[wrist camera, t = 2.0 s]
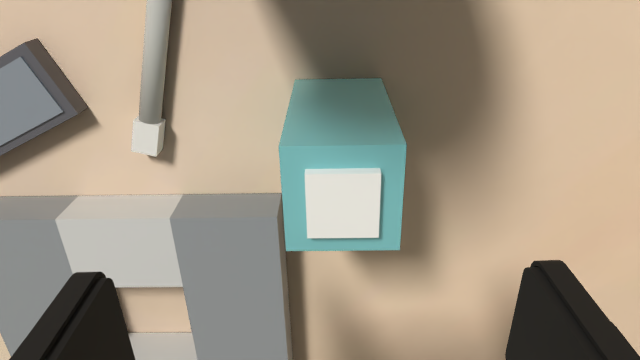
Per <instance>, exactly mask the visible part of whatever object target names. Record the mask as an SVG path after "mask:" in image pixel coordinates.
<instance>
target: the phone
mask: <svg viewBox="0 0 640 360" xmlns="http://www.w3.org/2000/svg"><path fill="white" fill-rule="evenodd" d="M86 108H88V106H87V105H86V104H85V102H84V101H83V100H82V98H81V97H80V96H79V94H78V93H77V92H76V90H75V89H74V88H73V86H72V85H71V84H70V82H69V81H68V79H67V78H66V77H65V75H64V74H63V73H62V71H61V70H60V69H59V67H58V66H57V65H56V63H55V62H54V61H53V59H52V58H51V57H50V55H49V54H48V53H47V51H46V50H45V48H44V47H43V46H42V44H41V43H40V42H39V40H38V39H34V40H31V41H28V42H25V43H23V44H21V45H19V46H18V47H16V48H14V49H13V50H11V51H9V52H8V53H6V54H4V55H3V56H1V57H0V156H1V155H2V154H4V153H6V152H8V151H10V150H12V149H14V148H16V147H17V146H19V145H21V144H23V143H25V142H27V141H29V140H31V139H32V138H34V137H36V136H38V135H40V134H42V133H44V132H46V131H47V130H49V129H51V128H53V127H55V126H57V125H59V124H61V123H62V122H64V121H66V120H68V119H70V118H72V117H74V116H76V115H77V114H79V113H81V112H82V111H83V110H85V109H86Z"/></svg>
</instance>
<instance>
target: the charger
mask: <svg viewBox="0 0 640 360" xmlns="http://www.w3.org/2000/svg"><path fill="white" fill-rule="evenodd" d="M406 147H407V144H406V141H405V139H404V136H403V134H402V131H401V128H400V126H399V123H398V121H397V118H396V115H395V113H394V110H393V108H392V105H391V102H390V100H389V97H388V95H387V92H386V89H385V87H384V84H383V81H382V79H381V78H355V79H302V80H295V83H294V87H293V91H292V95H291V99H290V103H289V107H288V111H287V115H286V119H285V123H284V127H283V131H282V135H281V139H280V143H279V158H280V172H281V187H282V201H283V216H284V230H285V245H286V251H353V250H400V239H401V223H402V208H403V193H404V178H405V162H406Z"/></svg>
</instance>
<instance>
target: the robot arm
mask: <svg viewBox="0 0 640 360" xmlns="http://www.w3.org/2000/svg"><path fill="white" fill-rule="evenodd" d="M9 360H135V356H134V353H133V349H132V346H131V342H130V338H129V335H128V331H127V328H126V324H125V321H124V317H123V314H122V310H121V307H120V303H119V299H118V296H117V292H116V289H115V285H114V282H113V280H112V279H111V278H106V276H105V274H104V273H103V272H76V273H74V274H73V275H72V276H71V277H70V278H69V279H68V281H67V282H66V283H65V285H64V286H63V288H62V289H61V290H60V292H59V293H58V294H57V296H56V297H55V298H54V300H53V301H52V303H51V304H50V305H49V307H48V308H47V309H46V311H45V312H44V314H43V315H42V316H41V318H40V319H39V320H38V322H37V323H36V324H35V326H34V327H33V329H32V330H31V331H30V333H29V334H28V335H27V337H26V338H25V339H24V341H23V342H22V343H21V344H20V346H19V347H18V349H17V350H16V351H15V353H14V354H13V355H12V357H11V358H10V359H9ZM506 360H640V356H639V355H638V354H637V353H636V351H635V350H634V349H633V348H632V346H631V345H630V344H629V342H628V341H627V340H626V339H625V337H624V336H623V335H622V333H621V332H620V331H619V330H618V328H617V327H616V326H615V325H614V324H613V323H612V322H611V321H609V319H608V318H607V317H606V315H605V314H604V313H603V312H602V310H601V309H600V308H599V306H598V305H597V304H596V303H595V301H594V300H593V299H592V297H591V296H590V295H589V294H588V292H587V291H586V290H585V289H584V287H583V286H582V285H581V283H580V282H579V281H578V280H577V278H576V277H575V276H574V274H573V273H572V272H571V271H570V269H569V268H568V267H567V265H566V264H565V263H564V262H563V261H560V260H548V261H534V262H533V263H532V264H531V267H527V268H525V269H524V271H523V275H522V280H521V284H520V289H519V293H518V298H517V303H516V307H515V312H514V316H513V321H512V326H511V330H510V335H509V339H508V344H507V349H506Z"/></svg>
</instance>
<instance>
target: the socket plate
mask: <svg viewBox="0 0 640 360" xmlns="http://www.w3.org/2000/svg"><path fill="white" fill-rule="evenodd" d="M76 272H103V273H104V274H105V276H106V278H111V279H112V280H113V282H114V285H115V287H183V289H184V295H185V300H186V305H187V310H188V315H189V320H190V325H191V330H192V332H191V333H128V335H129V338H130V342H131V346H132V349H133V353H134V356H135V360H293V352H292V337H291V323H290V308H289V294H288V279H287V265H286V250H285V236H284V221H283V207H282V193H258V194H175V195H92V196H8V197H0V333H1V335H2V338H3V340H4V342H5V344H6V346H7V349H8V351H9V353H10V355H11V357H12V355H13V354H14V353H15V351H16V350H17V349H18V347H19V346H20V344H21V343H22V342H23V341H24V339H25V338H26V337H27V335H28V334H29V333H30V331H31V330H32V329H33V327H34V326H35V324H36V323H37V322H38V320H39V319H40V318H41V316H42V315H43V314H44V312H45V311H46V309H47V308H48V307H49V305H50V304H51V303H52V301H53V300H54V298H55V297H56V296H57V294H58V293H59V292H60V290H61V289H62V288H63V286H64V285H65V283H66V282H67V281H68V279H69V278H70V277H71V276H72V275H73V274H74V273H76Z"/></svg>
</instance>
